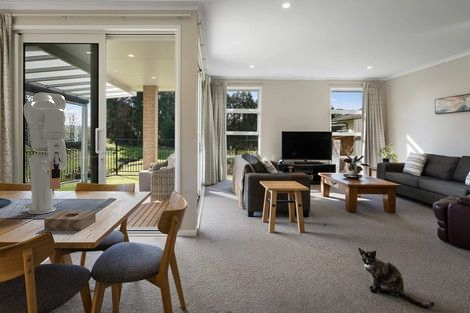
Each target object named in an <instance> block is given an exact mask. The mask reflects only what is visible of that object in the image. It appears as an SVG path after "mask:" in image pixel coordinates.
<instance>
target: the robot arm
mask: <svg viewBox="0 0 470 313" xmlns="http://www.w3.org/2000/svg"><path fill="white" fill-rule="evenodd" d="M66 105H67V104H66V99H65V97H64V96H63V95H62V94H59V93H52V92H51V93H50V92H37V93H35V94H33V96H32V101H29V102H26V103H25V104H23V115H24V118H25V121H26V122H27V124H28V127H29V131H30V132H29V134H30V135H29V136H30V146H31V149H32V151H34V152H36V153H35V154H33V155H30V156H29V158H28V165H29V170H30V176H31V177H30V179H31V183H30V184H31V185H30V186H31V203H26V204H25V206H24V208H27V209H28V208H29V209H28V211H27V212H28V214H30V215H42V214H50V213H53V212H55V211H57V207H55V206H54V205H53V201H54V200H53V198H54V197H53V196H54V195H53V189H50V173H48V172H50V162H52V178H60V179H61V171H65V169H67V167H68V157H67V148H66V140H65V139H66V138H65V134H66V133H65V122H66V118H67V117H66V113H65V109H66ZM59 158H60V159H59ZM53 161H55V162H53Z"/></svg>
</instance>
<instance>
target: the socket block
mask: <svg viewBox="0 0 470 313" xmlns="http://www.w3.org/2000/svg"><path fill="white" fill-rule="evenodd" d="M43 223H44V224H43V229H44V231H71V232H72V231H76V232H82V231H83V230H84V229H87V228H88V227H89V226H91V225H92V224H94V223H96V211H86V210H85V211H83V210H82V211H81V210H78V211H77V210H62V211H59V212H56V213H55V214H51V215H50V216H48V217H44V219H43Z"/></svg>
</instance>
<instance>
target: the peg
mask: <svg viewBox="0 0 470 313" xmlns="http://www.w3.org/2000/svg"><path fill="white" fill-rule="evenodd" d="M59 159H60V158H59ZM53 162H55V161H53ZM49 175H50V189H52V190H58V189H61V177H60V178H52V162H50V171H49Z"/></svg>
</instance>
